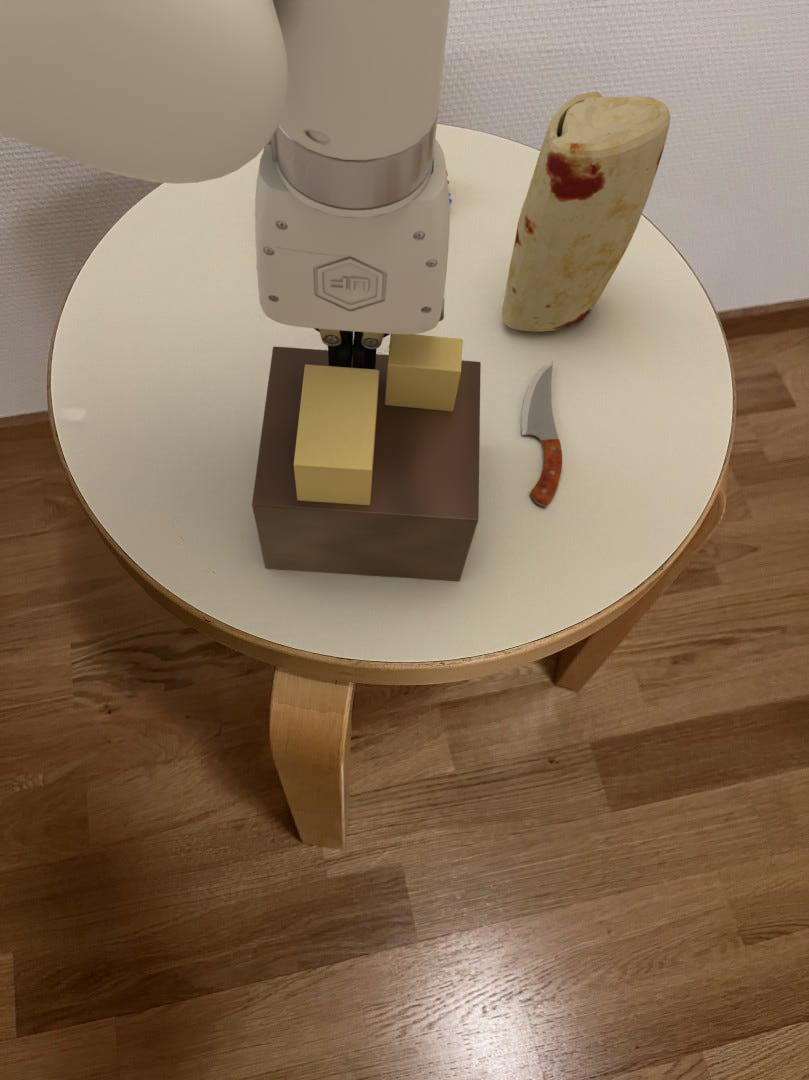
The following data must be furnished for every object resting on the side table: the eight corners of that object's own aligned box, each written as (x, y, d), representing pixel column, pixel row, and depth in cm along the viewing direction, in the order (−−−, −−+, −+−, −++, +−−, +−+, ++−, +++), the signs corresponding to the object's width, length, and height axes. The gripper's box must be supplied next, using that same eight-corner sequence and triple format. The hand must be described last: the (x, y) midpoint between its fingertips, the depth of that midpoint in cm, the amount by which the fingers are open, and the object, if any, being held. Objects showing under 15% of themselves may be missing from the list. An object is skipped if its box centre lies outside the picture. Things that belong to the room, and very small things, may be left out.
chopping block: (264, 568, 64) (251, 504, 55) (282, 425, 69) (272, 345, 60) (459, 581, 65) (478, 520, 56) (463, 438, 70) (480, 361, 61)
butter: (297, 500, 55) (293, 464, 51) (307, 405, 58) (305, 363, 54) (370, 505, 56) (372, 470, 52) (377, 410, 59) (379, 369, 54)
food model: (516, 360, 73) (572, 163, 55) (479, 299, 76) (521, 92, 57) (619, 324, 75) (705, 123, 57) (580, 266, 78) (651, 56, 60)
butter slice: (384, 405, 59) (387, 364, 55) (387, 374, 60) (390, 331, 56) (453, 412, 59) (461, 371, 55) (454, 380, 60) (463, 338, 56)
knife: (519, 357, 72) (556, 358, 73) (518, 361, 73) (555, 363, 73) (525, 503, 67) (565, 505, 67) (523, 507, 67) (563, 508, 67)
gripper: (180, 181, 40) (229, 409, 57) (514, 208, 41) (466, 425, 57) (204, 66, 43) (244, 313, 60) (513, 92, 44) (467, 330, 60)
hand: (352, 368), depth 58 cm, fingers closed
